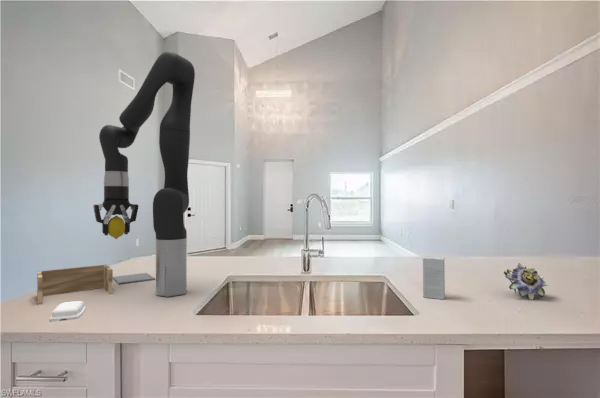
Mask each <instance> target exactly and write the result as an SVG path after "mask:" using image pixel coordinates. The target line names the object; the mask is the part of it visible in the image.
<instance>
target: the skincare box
mask: <svg viewBox="0 0 600 398" xmlns="http://www.w3.org/2000/svg"><path fill="white" fill-rule="evenodd" d="M445 269H446V268H445V257H443V256H425V255H424V256H423V258H422V297H423V298H426V299H437V300H445V297H446V292H445V291H446V286H445V285H446V282H445V281H446V280H445V277H446V275H445V272H446V271H445Z"/></svg>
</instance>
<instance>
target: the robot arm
mask: <svg viewBox="0 0 600 398" xmlns="http://www.w3.org/2000/svg"><path fill="white" fill-rule="evenodd" d="M146 75H147V76H146V77H145V79H144V81H143V82H142V85H141V86H140V88H139V90H138V91H137V93H136V95H135V96H134V97H133V99H132V100H131V101H130V103H128V105H127V106H126V107H125V108H124V110H123V111H122V112H121V113H120V115H119V117H118V120H119V122H120V124H122V127H121V126H117V125H112V124H107V125H104V126H102V128H101V129H100V131H99V137H98V139H99V145H100V146H101V150H102V154H103V158H104V176H103V202H102V203H100V204H93V212H94V217H95V221H96V223H99V224H101V226H102V227H101V228H102V232H101V233H102V234H103V235H104V236H108V235H109V234H108V221H109V220H110V219H111V218H112V216H118V215H119V216H121V218H122V219H123V220H124V223H125V231H124V233H123V235H128V234H129V233H130V232H131V230H130V229H131V227H130V226H131V225H130V224H131V223H133V222H136V220H137V217H138V210H139V204H135V203H134V204H133V203H131V202H130V201H129V198H130V194H129V193H130V192H129V191H130V190H129V188H130V183H129V182H130V181H129V180H130V179H129V159H128V156H127V155H126V154H125V155H124V154H122V153H121V152H120V149H127V148H130V146H132V145H133V143H135V140H136V137H137V135H138V133H139V131H140V128H141V127H142V126H143V125H144V124H145V123H146V121H147V120H148V119H149V118H150V116H151V115H152V113H153V111H154V107H155V100H156V97H157V95H158V92H159V90H160V89H161V88H162V87H163V86H164V85H166V83H168V84H170V85H172V99H171V103H170V106H169V108H168V109H167V111H166V112H165V114H164V116H163V118H162V120H161V122H160V125H159V134H158V135H159V137H158V138H159V139H158V140H159V141H158V143H159V153H160V157H161V161H162V164H163V169H164V185H163V188H161V189H159V190H158V191H157V192H155V195H154V196H153V201H152V222H153V223H152V225H153V226H152V227H153V231H154V233H155V294H156V295H157V296H160V297H165V298H169V297H175V296H180V295H181V296H182V295H186V294H187V292H188V291H187V289H188V285H187V281H188V279H187V277H188V275H187V273H188V270H187V269H188V267H187V266H188V265H187V261H188V260H187V255H188V254H187V253H188V252H187V249H188V248H187V245H188V244H187V242H188V241H187V239H188V238H187V237H188V235H187V234H188V233H187V228H186V227H185V224H184V213H186V211H187V210H188V209H189V205H190V195H189V193H190V192H189V182H188V181H189V180H188V179H189V178H188V171H189V162H190V161H189V159H190V144H191V143H190V142H191V140H190V139H191V116H192V115H191V113H192V101H193V100H192V99H193V91H194V87H195V86H194V85H195V75H196V73H195V68H194V64H192V62H191V61H189V60H188V59H187V58H185V57H183V56H182V55H179V54H177V52H174V51H171V50H168V51H163V52H161V54H160V55H159V56H158V57H157V58H156V60H155V62H154V63H153V65H152V67H151V68H150V70H149V71H148V74H146ZM129 207H130V211H131V213H130V214H131V215H130V216H129V214H128V212H127V211H128V209H129ZM102 208H103V209H104V210H105V211H106V212H105V214H104V215H103V218H102V217H101V211H102Z"/></svg>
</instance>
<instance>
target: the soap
mask: <svg viewBox="0 0 600 398" xmlns="http://www.w3.org/2000/svg"><path fill="white" fill-rule="evenodd" d="M86 309H87V308H86V306H85V303H84V301H82V300H77V301H76V300H75V301H65V302H61V303H60V304H58V305H57V306H56V307H55V308H54V309H53V310H52V312H51V316H50V318H49V322H59V321H61V320H67V321H70V319H71V320H78V319H80V318H81V317H82V316H83V315H84V313H85V312H86ZM77 318H78V319H77Z"/></svg>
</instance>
